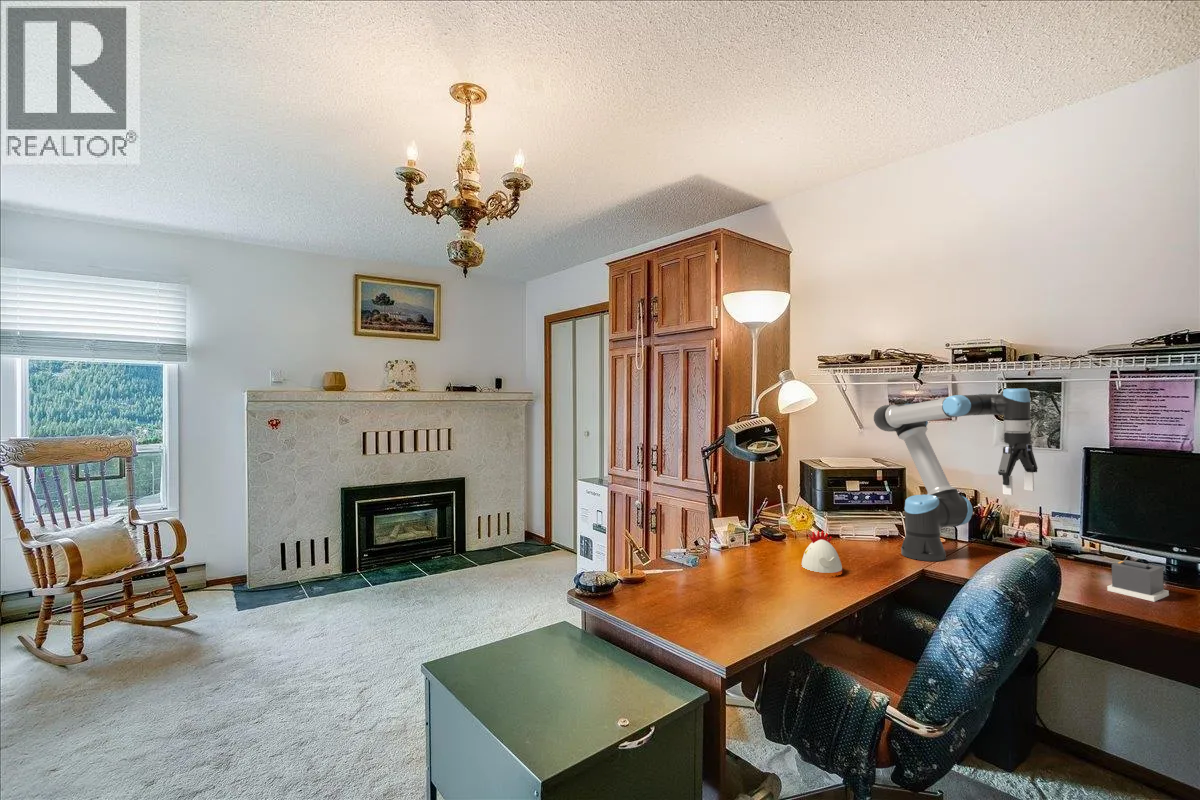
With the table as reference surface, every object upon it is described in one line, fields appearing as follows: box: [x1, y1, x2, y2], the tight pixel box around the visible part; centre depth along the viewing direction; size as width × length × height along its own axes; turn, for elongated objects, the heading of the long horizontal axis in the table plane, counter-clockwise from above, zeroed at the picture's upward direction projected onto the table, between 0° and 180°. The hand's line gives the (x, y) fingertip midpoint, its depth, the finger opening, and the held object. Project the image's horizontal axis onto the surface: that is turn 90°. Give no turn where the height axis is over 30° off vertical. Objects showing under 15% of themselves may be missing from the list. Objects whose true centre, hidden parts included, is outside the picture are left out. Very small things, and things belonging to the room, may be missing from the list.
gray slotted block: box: [1111, 559, 1165, 595], centre depth 171 cm, size 9×9×7 cm
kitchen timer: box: [801, 530, 843, 573], centre depth 200 cm, size 14×14×15 cm
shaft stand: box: [1106, 559, 1170, 603], centre depth 171 cm, size 11×10×10 cm
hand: (1018, 492), depth 192 cm, fingers open, 13 cm apart
